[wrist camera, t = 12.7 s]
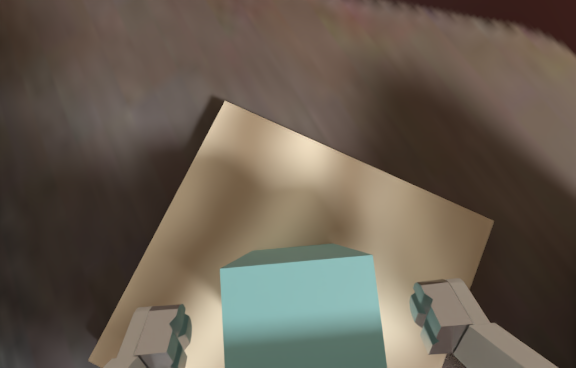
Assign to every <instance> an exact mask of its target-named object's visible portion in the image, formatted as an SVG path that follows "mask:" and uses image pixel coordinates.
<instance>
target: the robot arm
mask: <svg viewBox="0 0 576 368" xmlns="http://www.w3.org/2000/svg"><path fill="white" fill-rule="evenodd" d="M413 289H414V291H415V293H413V294H412V295H411V297H410V301H409V303H410V311H411V314H412V317H413V320H414V322H415V323H416V324H417V325H418V326H420V327H421V328H422V329H421V333H420V336H421V339H422V341H423V343H424V346H425V348H426V350H427V353H428V355H432V354H447V353H454V354H453V355H454V356H455V357H456V358H457V359H458V360H459V361H460V362H461V363H462V364H463V365H465V366H466V367H467V368H558V367H557V366H555V365H554V364H552V363H551V362H550V361H548V360H547V359H545V358H544V357H542V356H541V355H540V354H538V353H537V352H535V351H534V350H533V349H531V348H530V347H528V346H527V345H526V344H524V343H523V342H521V341H520V340H518V339H517V338H516V337H514V336H513V335H511V334H510V333H509V332H507V331H506V330H504V329H503V328H502V327H500V326H499V325H497V324H496V323H490V322H489V320H488V318H487V317H486V315H485V314H484V312H483V311H482V309H481V308H480V306H479V304H478V303H477V301H476V300H475V298H474V297H473V295H472V293H471V292H470V290H469V289H468V287H467V286H466V284H465V283H464V281H463V280H462V279H460V278H453V279H440V280H431V281H422V282H416V283H415V284H414V287H413ZM185 310H186V308H185V306H184V305H183V304H174V305H163V306H148V307H139V308H137V309H136V311H135V312H134V313H133V316H132V319H131V321H130V324H129V326H128V329H127V332H126V334H125V337H124V339H123V342H122V345H121V347H120V350H119V352H118V355H117V358H112V359H111V360H110V361H109V362H108V363H107V364H106V365H105V366H104V367H103V368H185V366H186V361H187V355H186V353H185V351H184V350H185V349H186V348H187V346H188V345H189V344H190V341H191V336H192V323H191V319H190V317H189V316H188V315H186V314H185Z"/></svg>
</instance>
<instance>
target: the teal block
mask: <svg viewBox="0 0 576 368" xmlns="http://www.w3.org/2000/svg"><path fill="white" fill-rule="evenodd" d="M220 283H221V303H222V322H223V342H224V361H225V368H387V362H386V354H385V346H384V338H383V331H382V323H381V315H380V307H379V300H378V292H377V284H376V276H375V268H374V261H373V255H371V254H368V253H364V252H361V251H358V250H354V249H351V248H347V247H344V246H340V245H337V244H333V243H332V244H321V245H309V246H298V247H287V248H276V249H265V250H254V251H251V252H249V253H247V254H246V255H244V256H242V257H240V258H238V259H236V260H235V261H233V262H231V263H229V264H227V265H226V266H224V267H222V268H220Z"/></svg>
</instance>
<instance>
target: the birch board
mask: <svg viewBox="0 0 576 368" xmlns="http://www.w3.org/2000/svg"><path fill="white" fill-rule="evenodd" d="M493 223H494V221H493V220H491V219H489V218H486V217H484V216H482V215H480V214H477V213H475V212H473V211H471V210H468V209H466V208H464V207H462V206H459V205H457V204H455V203H453V202H451V201H448V200H446V199H444V198H442V197H439V196H437V195H435V194H433V193H430V192H428V191H426V190H424V189H421V188H419V187H417V186H415V185H412V184H410V183H408V182H406V181H404V180H401V179H399V178H397V177H395V176H392V175H390V174H388V173H386V172H383V171H381V170H379V169H377V168H374V167H372V166H370V165H368V164H365V163H363V162H361V161H359V160H356V159H354V158H352V157H350V156H348V155H345V154H343V153H341V152H339V151H336V150H334V149H332V148H330V147H327V146H325V145H323V144H321V143H318V142H316V141H314V140H312V139H309V138H307V137H305V136H303V135H300V134H298V133H296V132H294V131H292V130H289V129H287V128H285V127H283V126H280V125H278V124H276V123H274V122H271V121H269V120H267V119H265V118H262V117H260V116H258V115H256V114H253V113H251V112H249V111H247V110H245V109H242V108H240V107H238V106H236V105H233V104H231V103H229V102H227V101H225V102H224V104H223V105H222V107H221V109H220V111H219V113H218V115H217V117H216V119H215V121H214V123H213V124H212V126H211V128H210V130H209V132H208V134H207V136H206V138H205V140H204V142H203V143H202V145H201V147H200V149H199V151H198V153H197V155H196V157H195V159H194V161H193V162H192V164H191V166H190V168H189V170H188V172H187V174H186V176H185V178H184V180H183V181H182V183H181V185H180V187H179V189H178V191H177V193H176V195H175V197H174V199H173V200H172V202H171V204H170V206H169V208H168V210H167V212H166V214H165V216H164V217H163V219H162V221H161V223H160V225H159V227H158V229H157V231H156V233H155V235H154V236H153V238H152V240H151V242H150V244H149V246H148V248H147V250H146V252H145V254H144V255H143V257H142V259H141V261H140V263H139V265H138V267H137V269H136V271H135V273H134V274H133V276H132V278H131V280H130V282H129V284H128V286H127V288H126V290H125V292H124V293H123V295H122V297H121V299H120V301H119V303H118V305H117V307H116V309H115V311H114V312H113V314H112V316H111V318H110V320H109V322H108V324H107V326H106V328H105V330H104V331H103V333H102V335H101V337H100V339H99V341H98V343H97V345H96V347H95V348H94V350H93V352H92V354H91V356H90V358H89V360H88V361H90V362H91V363H93V364H95V365H97V366H99V367H101V368H103V367H104V366H105V365H106V364H107V363H108V362H109V361H110V360H111V359H112V358H117V355H118V352H119V350H120V347H121V345H122V342H123V339H124V337H125V334H126V332H127V329H128V326H129V324H130V321H131V319H132V316H133V313H134V312H135V311H136V309H137V308H139V307H148V306H163V305H174V304H183V305H184V306H185V308H186V310H185V314H186V315H188V316H189V317H190V319H191V323H192V336H191V341H190V344H189V345H188V346H187V348H186V349H185V350H184V351H185V353H186V355H187V361H186V366H185V368H225V361H224V342H223V322H222V303H221V283H220V268H222V267H224V266H226V265H227V264H229V263H231V262H233V261H235V260H236V259H238V258H240V257H242V256H244V255H246V254H247V253H249V252H251V251H254V250H265V249H276V248H287V247H298V246H309V245H321V244H332V243H333V244H337V245H340V246H344V247H347V248H351V249H354V250H358V251H361V252H364V253H368V254H371V255H373V261H374V268H375V276H376V284H377V292H378V300H379V307H380V315H381V323H382V331H383V338H384V346H385V354H386V362H387V368H442V365H443V363H444V360H445V357H446V354H432V355H428V353H427V350H426V348H425V346H424V343H423V341H422V339H421V336H420V333H421V329H422V328H421V327H420V326H418V325H417V324H416V323H415V322H414V320H413V317H412V314H411V311H410V303H409V301H410V297H411V295H412V294H413V293H415V291H414V289H413V287H414V284H415V283H416V282H422V281H431V280H440V279H453V278H460V279H462V280H463V281H464V283H465V284H466V286H467V287H468V289H469V290H470V287H471V285H472V282H473V279H474V276H475V273H476V271H477V268H478V265H479V262H480V259H481V257H482V254H483V251H484V248H485V246H486V243H487V240H488V237H489V234H490V232H491V229H492V226H493Z"/></svg>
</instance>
